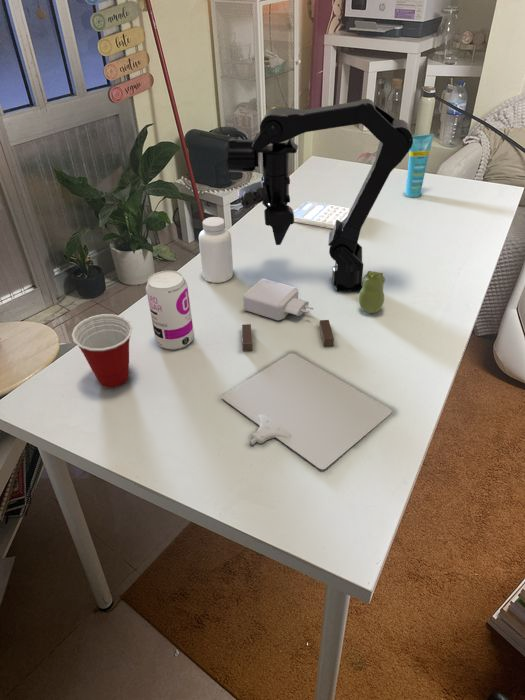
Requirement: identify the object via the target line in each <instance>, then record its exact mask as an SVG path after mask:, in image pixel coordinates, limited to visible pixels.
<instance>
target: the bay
mask: <svg viewBox="0 0 525 700" xmlns="http://www.w3.org/2000/svg"><path fill="white" fill-rule="evenodd" d="M318 323H319V324H318V325H319V332H320V336H321V340H322V345H323V347H324V348H327V347H329V348H330V347H334V345H335V344H334V343H335V338H334V334H333V330H332V327H331V322H330V320H329V319H321V320H319V322H318ZM252 336H253V335H252V324H251V323H250V324H249V323H248V324H247V323H246V324H241V342H242V343H241V344H242V352H253V337H252Z"/></svg>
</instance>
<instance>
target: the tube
mask: <svg viewBox="0 0 525 700" xmlns="http://www.w3.org/2000/svg"><path fill="white" fill-rule="evenodd" d="M434 135H435V134H434V133H429V134H422V135H412V138H413V144H412V147H411V149H410V150H409V152H408V154H409V155H408V163H407V164H408V166H407V173H406V174H407V175H406V183H405V193H404V195H405V196H406V197H408V198H419V197H420V196H421V194H422V188H423V183H424V178H425V174H426V169H427V166H428V165H427V164H428V160H429V157H430V152H431V147H432V143H433V139H434Z"/></svg>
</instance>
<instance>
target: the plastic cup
mask: <svg viewBox="0 0 525 700" xmlns="http://www.w3.org/2000/svg"><path fill="white" fill-rule="evenodd" d="M133 328H134V327H133V325H132V323H131V321H130V320H129V319H127V318H125V317H124V316H122V315H118V314H114V313H102V314H96V315H92V316H89V317H87V318H85V319H82V320H81V321H80V322H79V323H78V324H77V325H75V326H74V327H73V330H72V333H71V337H72V340H73V342H74V344H76V345H77V347H78V349H80V351H81V353H82V354H83V356H84V358H85V360H86V362H87V364H88V365H89V367H90V370H91V371H92V373H93V374H94V376H95V378H96V380H97V382H98V383H99V385H101V386H102V387H103V388H108V389H111V388H112V389H113V388H114V389H115V388H117V387H121V386H122V385H124V384H125V383H126V382H127V381H128V379H129V377H130V376H129V375H130V340H131V339H130V338H131V336H132V334H133V333H132V332H133Z"/></svg>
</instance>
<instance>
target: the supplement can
mask: <svg viewBox="0 0 525 700" xmlns="http://www.w3.org/2000/svg"><path fill="white" fill-rule="evenodd" d="M145 293H146V297H147V303H148V307H149V313H150V318H151V323H152V329H153V335H154V339H155V342H156V344H157V345H158V346H159V347H161V348H163V349H166V350H170V351H171V350H172V351H174V350H180V349H183V348H185V347H187V346H188V345H189V344H190V343H191V342H192V341H193V339H194V338H195V337H194V336H195V332H194V325H193V317H192V309H191V302H190V294H189V286H188V282H187V280H186V279H185V277H184V276H183V274H182V273H180V272H179V271H175V270H162V271H158V272H155V273H153V274H151V275H150V276H149V277H148V279H147V283H146V286H145Z"/></svg>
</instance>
